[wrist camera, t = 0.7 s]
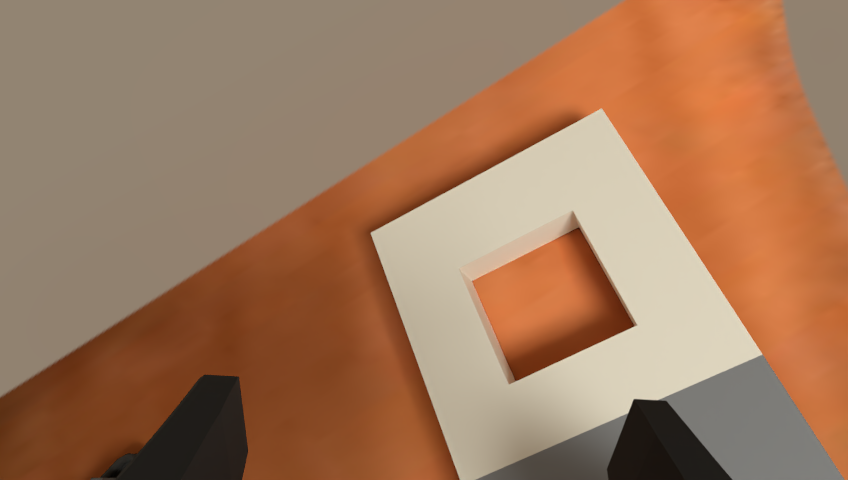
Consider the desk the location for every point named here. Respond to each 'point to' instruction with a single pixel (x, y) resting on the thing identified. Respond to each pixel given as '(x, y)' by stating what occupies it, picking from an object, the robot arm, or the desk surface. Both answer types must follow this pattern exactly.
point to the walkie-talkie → (116, 467)
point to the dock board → (597, 365)
